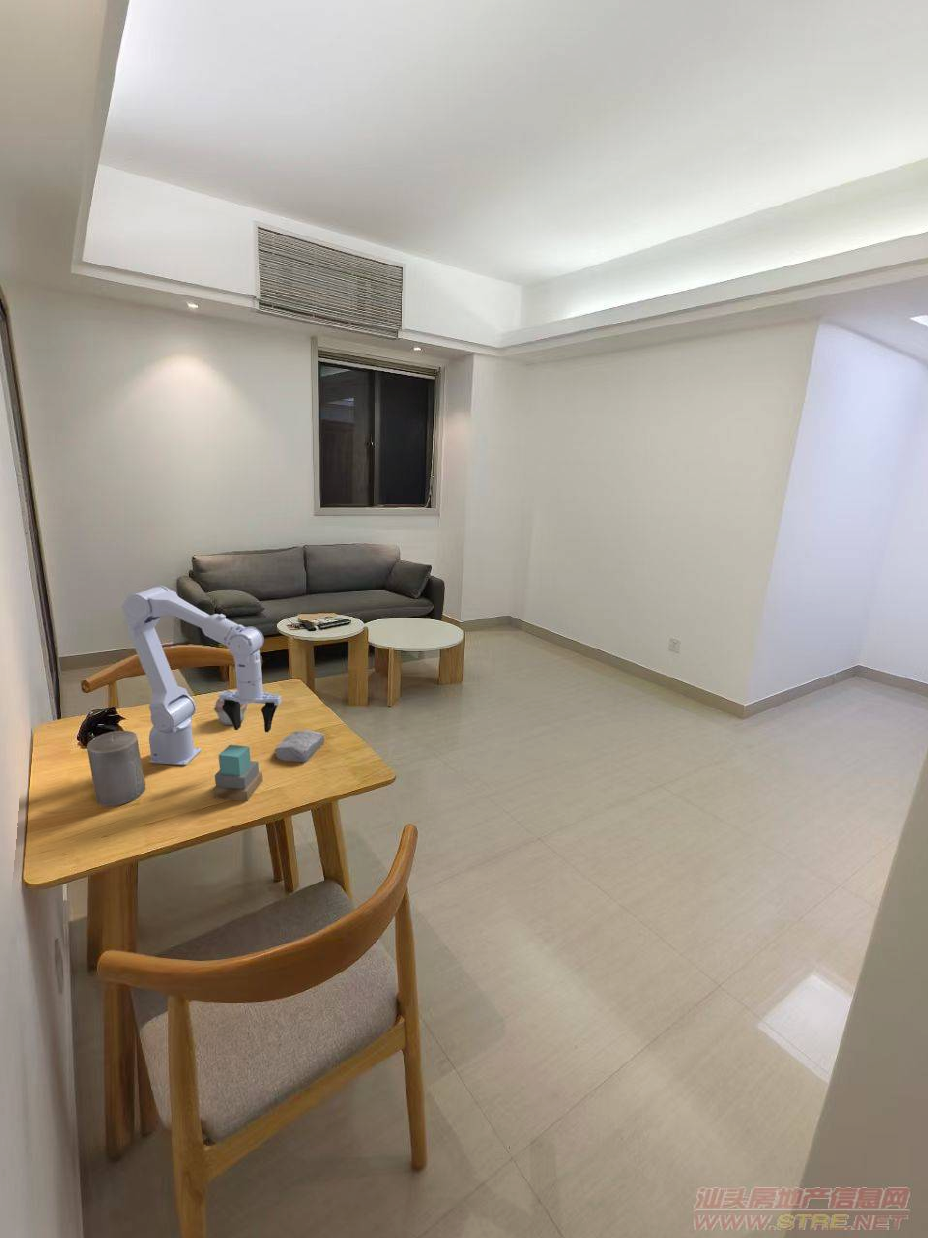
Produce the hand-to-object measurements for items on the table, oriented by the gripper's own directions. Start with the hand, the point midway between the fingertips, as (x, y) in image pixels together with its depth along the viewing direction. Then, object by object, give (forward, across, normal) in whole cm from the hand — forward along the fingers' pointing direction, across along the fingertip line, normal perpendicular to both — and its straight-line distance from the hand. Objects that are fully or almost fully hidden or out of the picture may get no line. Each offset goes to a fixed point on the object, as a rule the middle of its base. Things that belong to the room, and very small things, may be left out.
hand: (252, 729), depth 137 cm
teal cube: (+5, 0, -10) cm, 11 cm away
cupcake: (+11, -17, +23) cm, 31 cm away
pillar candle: (+11, -25, -15) cm, 31 cm away
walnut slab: (+11, 0, -10) cm, 15 cm away
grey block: (+8, 0, -10) cm, 12 cm away
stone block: (+11, +8, +9) cm, 16 cm away
